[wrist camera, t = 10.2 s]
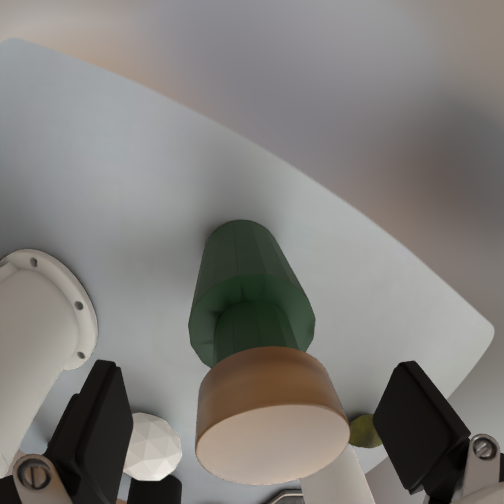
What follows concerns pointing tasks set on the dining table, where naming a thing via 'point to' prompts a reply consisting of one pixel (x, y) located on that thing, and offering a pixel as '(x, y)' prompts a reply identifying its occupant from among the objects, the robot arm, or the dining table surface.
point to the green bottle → (247, 296)
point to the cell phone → (288, 497)
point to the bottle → (338, 482)
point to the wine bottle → (155, 491)
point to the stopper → (268, 417)
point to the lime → (364, 432)
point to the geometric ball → (152, 448)
